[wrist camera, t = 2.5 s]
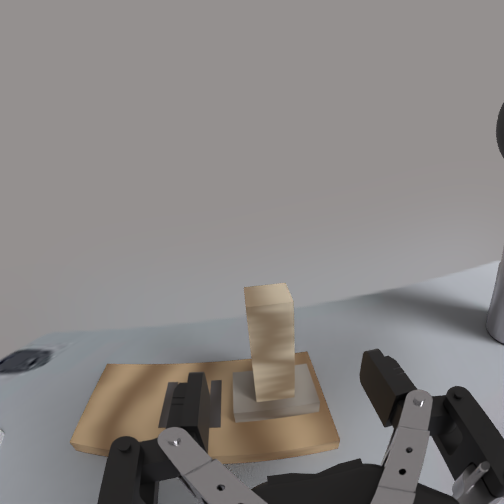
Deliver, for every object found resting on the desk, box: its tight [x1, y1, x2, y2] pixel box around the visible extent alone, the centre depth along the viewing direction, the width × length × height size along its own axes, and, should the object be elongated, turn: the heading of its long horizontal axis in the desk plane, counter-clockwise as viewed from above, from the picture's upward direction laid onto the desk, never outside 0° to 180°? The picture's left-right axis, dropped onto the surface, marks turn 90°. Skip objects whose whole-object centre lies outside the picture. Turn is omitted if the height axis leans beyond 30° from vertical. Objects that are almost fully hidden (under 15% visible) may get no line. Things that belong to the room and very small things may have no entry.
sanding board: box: [70, 352, 340, 464], centre depth 27 cm, size 26×14×2 cm, turn 94°
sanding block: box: [233, 283, 320, 423], centre depth 25 cm, size 8×6×12 cm
